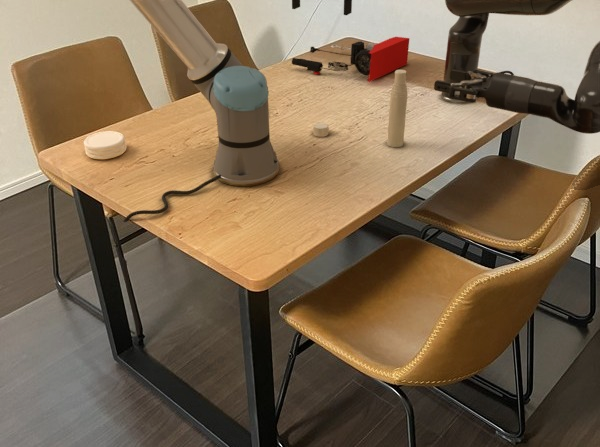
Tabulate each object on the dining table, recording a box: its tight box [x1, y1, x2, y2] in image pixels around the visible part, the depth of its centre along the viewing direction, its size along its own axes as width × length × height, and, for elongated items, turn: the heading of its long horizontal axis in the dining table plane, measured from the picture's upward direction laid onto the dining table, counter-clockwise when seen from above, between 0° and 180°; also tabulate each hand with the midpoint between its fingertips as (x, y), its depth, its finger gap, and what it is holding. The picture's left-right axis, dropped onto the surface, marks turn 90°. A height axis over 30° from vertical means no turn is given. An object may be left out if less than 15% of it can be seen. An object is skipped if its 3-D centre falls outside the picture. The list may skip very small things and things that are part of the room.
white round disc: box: [83, 130, 128, 160], centre depth 155 cm, size 10×10×4 cm
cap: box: [312, 122, 330, 138], centre depth 163 cm, size 4×4×2 cm
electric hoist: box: [291, 36, 410, 82], centre depth 206 cm, size 10×27×30 cm
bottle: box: [386, 69, 408, 148], centre depth 152 cm, size 4×4×19 cm
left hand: (321, 11), depth 146 cm, fingers open, 13 cm apart
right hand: (443, 79), depth 142 cm, fingers open, 8 cm apart
